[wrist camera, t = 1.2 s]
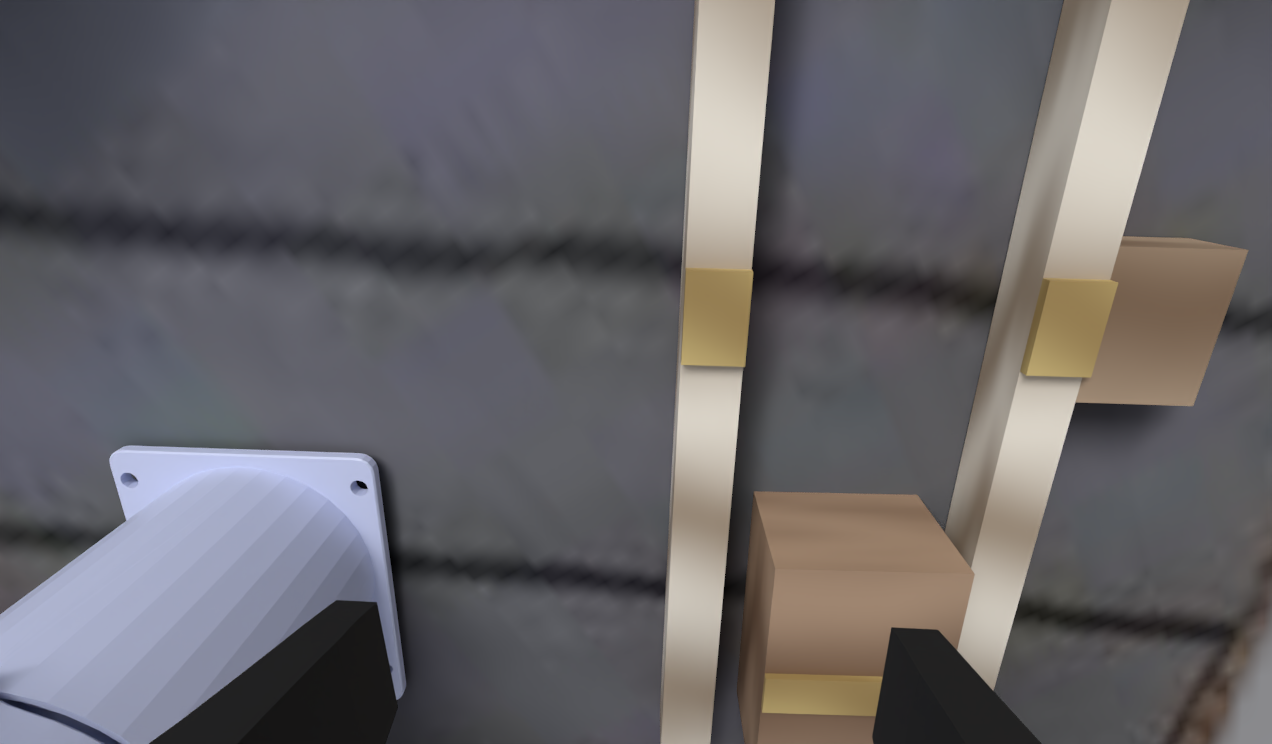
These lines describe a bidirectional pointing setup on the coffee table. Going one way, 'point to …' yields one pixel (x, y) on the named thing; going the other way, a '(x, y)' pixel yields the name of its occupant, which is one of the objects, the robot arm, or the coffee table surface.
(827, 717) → the rider block
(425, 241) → the coffee table surface
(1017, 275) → the beam slot
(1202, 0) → the coffee table surface
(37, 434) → the coffee table surface
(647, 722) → the coffee table surface
